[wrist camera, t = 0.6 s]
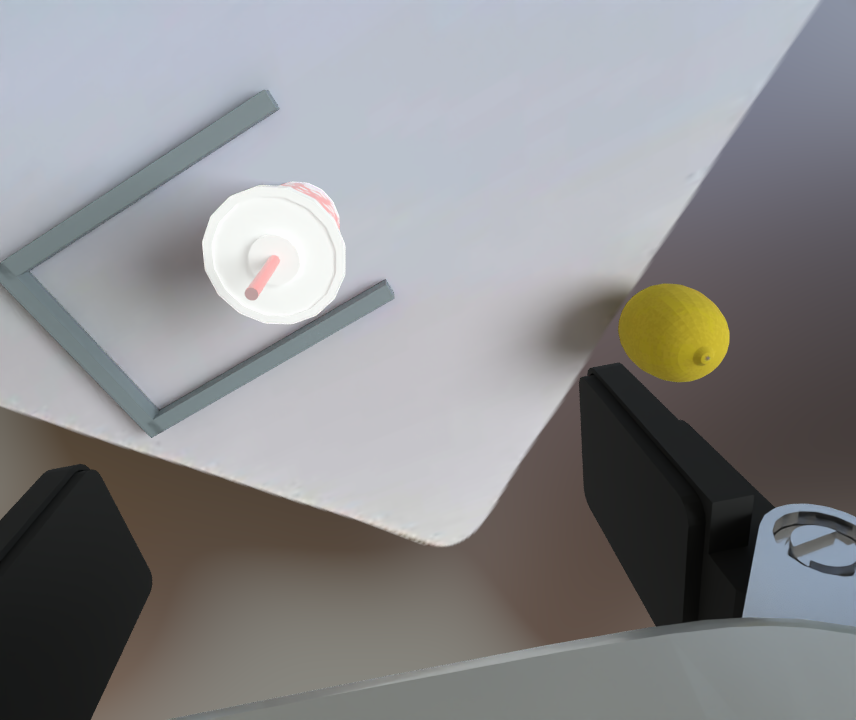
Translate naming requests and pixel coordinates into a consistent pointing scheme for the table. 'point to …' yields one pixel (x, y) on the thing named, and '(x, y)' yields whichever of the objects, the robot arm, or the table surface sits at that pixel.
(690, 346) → the lemon
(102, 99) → the table surface
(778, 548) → the robot arm
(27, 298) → the slate channel
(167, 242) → the table surface
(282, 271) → the beverage cup
